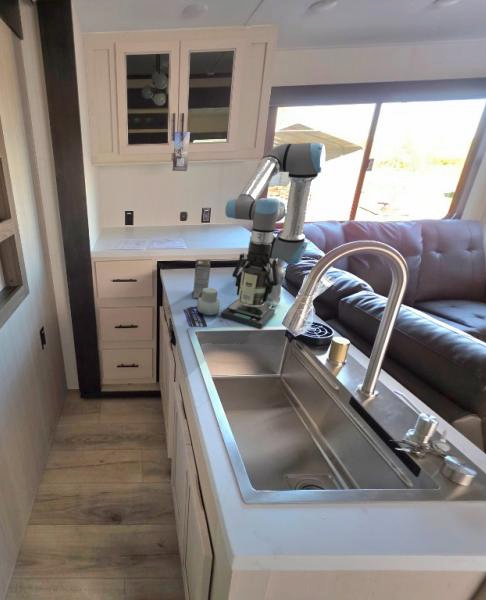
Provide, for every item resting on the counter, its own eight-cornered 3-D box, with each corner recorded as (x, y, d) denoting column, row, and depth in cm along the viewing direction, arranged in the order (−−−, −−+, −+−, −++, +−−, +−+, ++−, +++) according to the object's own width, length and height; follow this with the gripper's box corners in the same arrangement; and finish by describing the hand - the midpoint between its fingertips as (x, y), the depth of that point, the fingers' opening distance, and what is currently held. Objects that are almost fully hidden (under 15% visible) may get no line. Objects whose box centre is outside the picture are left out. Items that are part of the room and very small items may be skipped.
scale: (236, 303, 138) (236, 298, 137) (274, 314, 129) (275, 308, 128) (220, 316, 127) (221, 311, 126) (261, 328, 117) (262, 323, 116)
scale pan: (240, 299, 136) (240, 297, 136) (271, 307, 128) (271, 305, 128) (228, 309, 127) (228, 307, 126) (260, 318, 119) (261, 316, 119)
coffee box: (193, 291, 152) (196, 258, 145) (206, 291, 151) (210, 259, 144) (192, 298, 143) (195, 264, 137) (207, 299, 142) (210, 265, 136)
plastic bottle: (272, 308, 133) (281, 263, 125) (259, 303, 139) (267, 259, 131) (282, 305, 136) (292, 261, 128) (269, 300, 141) (277, 257, 133)
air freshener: (219, 318, 125) (222, 295, 121) (197, 317, 126) (200, 294, 122) (216, 307, 135) (219, 285, 131) (196, 306, 136) (198, 284, 132)
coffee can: (263, 298, 129) (270, 265, 124) (265, 308, 120) (272, 274, 115) (237, 295, 132) (242, 263, 127) (237, 305, 123) (242, 271, 118)
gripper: (228, 239, 120) (221, 293, 129) (291, 249, 107) (278, 307, 116) (235, 236, 126) (228, 288, 135) (296, 244, 113) (284, 301, 122)
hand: (251, 297), depth 125 cm, fingers closed on coffee can, 10 cm apart
